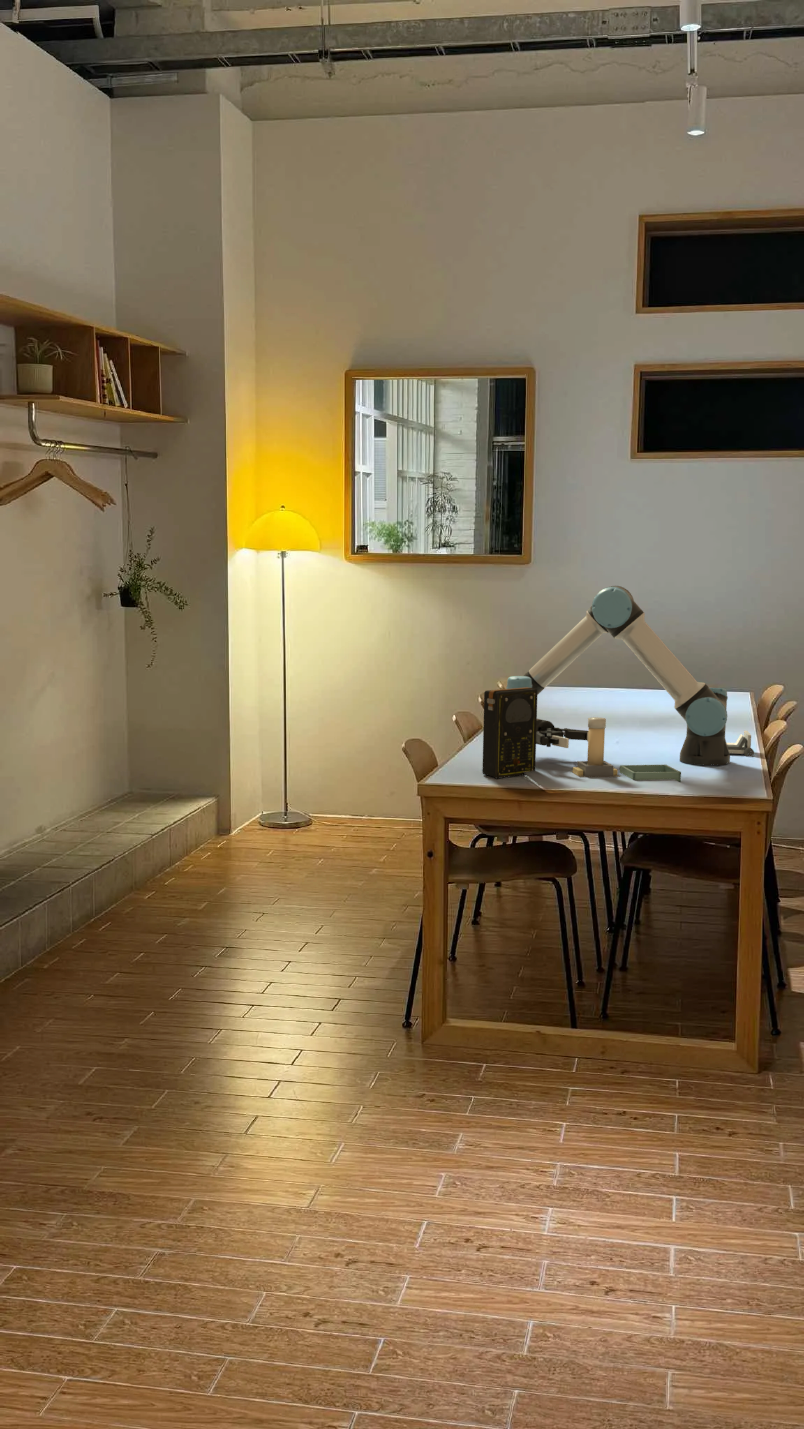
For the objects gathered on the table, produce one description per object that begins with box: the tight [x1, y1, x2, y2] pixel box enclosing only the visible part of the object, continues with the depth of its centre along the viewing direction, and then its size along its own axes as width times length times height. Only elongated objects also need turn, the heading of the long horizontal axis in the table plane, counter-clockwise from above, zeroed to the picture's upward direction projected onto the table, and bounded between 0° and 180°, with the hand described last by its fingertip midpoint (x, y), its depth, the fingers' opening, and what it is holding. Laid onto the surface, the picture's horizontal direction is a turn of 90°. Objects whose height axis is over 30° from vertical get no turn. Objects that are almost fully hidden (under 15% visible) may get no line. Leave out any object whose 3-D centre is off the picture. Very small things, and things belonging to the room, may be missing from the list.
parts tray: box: [619, 764, 682, 783], centre depth 378 cm, size 14×12×3 cm
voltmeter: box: [482, 687, 538, 780], centre depth 380 cm, size 16×9×25 cm, turn 126°
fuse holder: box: [569, 760, 621, 778], centre depth 379 cm, size 12×10×4 cm
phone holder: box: [726, 730, 755, 757], centre depth 425 cm, size 18×10×12 cm
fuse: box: [586, 716, 607, 766], centre depth 378 cm, size 5×5×16 cm
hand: (585, 741), depth 381 cm, fingers open, 13 cm apart
